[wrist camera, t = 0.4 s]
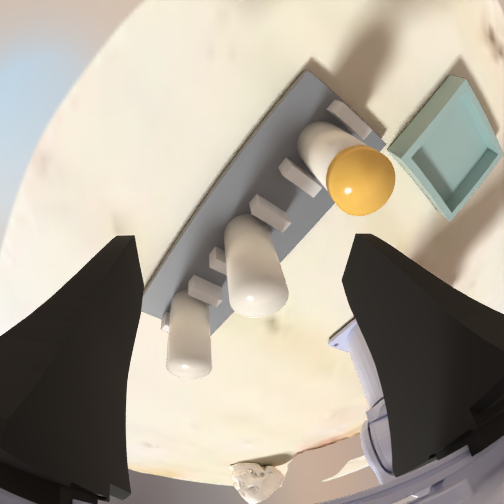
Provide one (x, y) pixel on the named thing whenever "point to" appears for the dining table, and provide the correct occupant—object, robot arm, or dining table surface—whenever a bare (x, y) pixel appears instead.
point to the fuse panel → (255, 199)
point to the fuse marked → (346, 168)
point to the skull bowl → (255, 481)
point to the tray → (448, 147)
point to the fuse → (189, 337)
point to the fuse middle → (253, 268)
